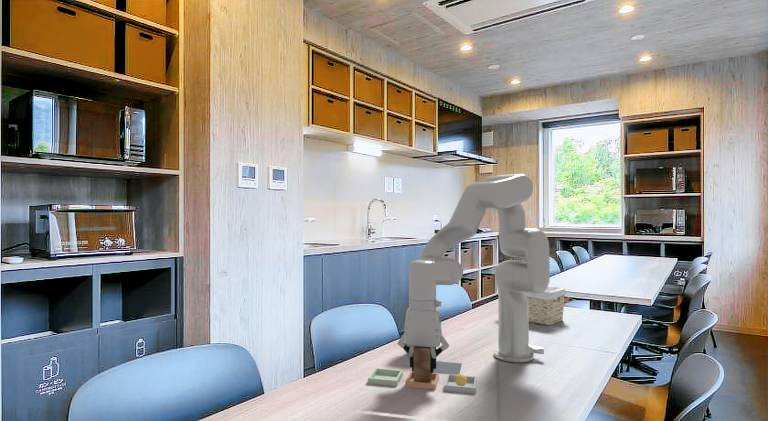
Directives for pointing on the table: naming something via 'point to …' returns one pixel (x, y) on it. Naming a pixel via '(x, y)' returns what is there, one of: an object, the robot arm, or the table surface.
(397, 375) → the sage tub
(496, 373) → the table surface
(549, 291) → the storage basket
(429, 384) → the terracotta tub
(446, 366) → the rubber mat
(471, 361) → the table surface
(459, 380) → the mustard ball
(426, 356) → the walnut block
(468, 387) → the grey tub
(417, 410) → the table surface
